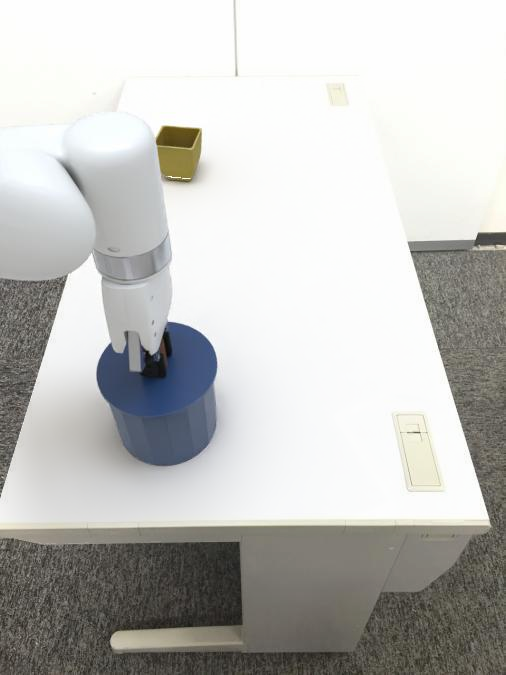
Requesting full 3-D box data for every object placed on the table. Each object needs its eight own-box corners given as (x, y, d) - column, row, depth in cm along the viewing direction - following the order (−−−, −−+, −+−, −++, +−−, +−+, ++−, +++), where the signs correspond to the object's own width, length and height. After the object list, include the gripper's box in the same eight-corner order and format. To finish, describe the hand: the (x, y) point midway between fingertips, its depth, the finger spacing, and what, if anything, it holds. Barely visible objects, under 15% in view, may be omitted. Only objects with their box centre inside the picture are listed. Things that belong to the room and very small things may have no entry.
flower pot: (156, 184, 114) (150, 145, 108) (166, 162, 120) (162, 124, 113) (196, 188, 114) (193, 149, 107) (205, 165, 119) (202, 127, 112)
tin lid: (116, 440, 60) (105, 412, 56) (85, 348, 69) (75, 318, 64) (236, 395, 64) (235, 366, 60) (193, 314, 73) (189, 283, 69)
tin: (135, 481, 70) (118, 431, 60) (109, 402, 78) (89, 347, 68) (231, 443, 73) (229, 390, 64) (196, 371, 81) (189, 315, 72)
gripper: (115, 196, 57) (141, 314, 71) (67, 304, 46) (109, 417, 60) (184, 200, 57) (197, 318, 70) (151, 310, 46) (174, 423, 60)
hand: (156, 363), depth 65 cm, fingers closed on tin lid, 2 cm apart
